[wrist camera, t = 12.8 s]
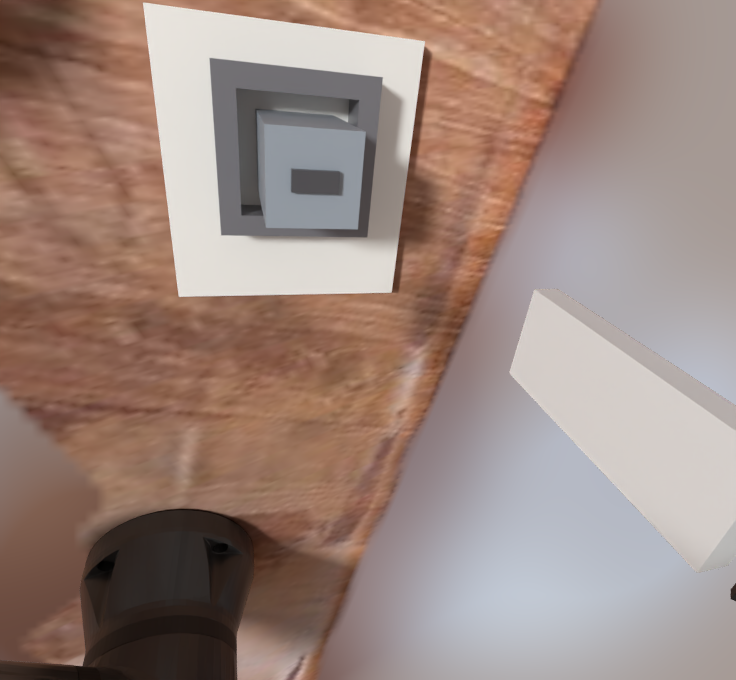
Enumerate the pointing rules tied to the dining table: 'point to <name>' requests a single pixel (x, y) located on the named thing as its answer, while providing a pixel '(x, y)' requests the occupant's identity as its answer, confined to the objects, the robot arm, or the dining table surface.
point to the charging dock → (239, 149)
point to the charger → (308, 170)
